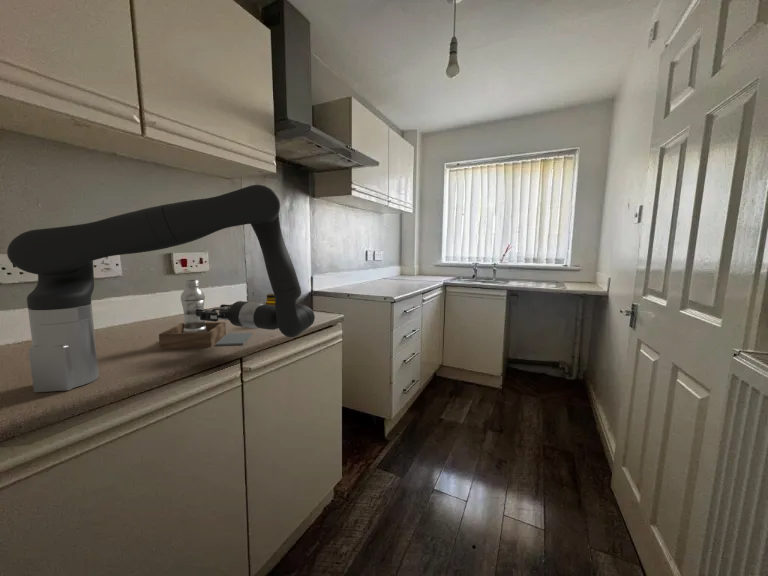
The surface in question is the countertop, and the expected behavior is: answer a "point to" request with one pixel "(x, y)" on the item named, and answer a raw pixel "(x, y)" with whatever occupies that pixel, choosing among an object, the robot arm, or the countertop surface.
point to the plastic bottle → (192, 307)
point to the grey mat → (234, 339)
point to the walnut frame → (192, 336)
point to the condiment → (270, 299)
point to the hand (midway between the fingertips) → (209, 309)
